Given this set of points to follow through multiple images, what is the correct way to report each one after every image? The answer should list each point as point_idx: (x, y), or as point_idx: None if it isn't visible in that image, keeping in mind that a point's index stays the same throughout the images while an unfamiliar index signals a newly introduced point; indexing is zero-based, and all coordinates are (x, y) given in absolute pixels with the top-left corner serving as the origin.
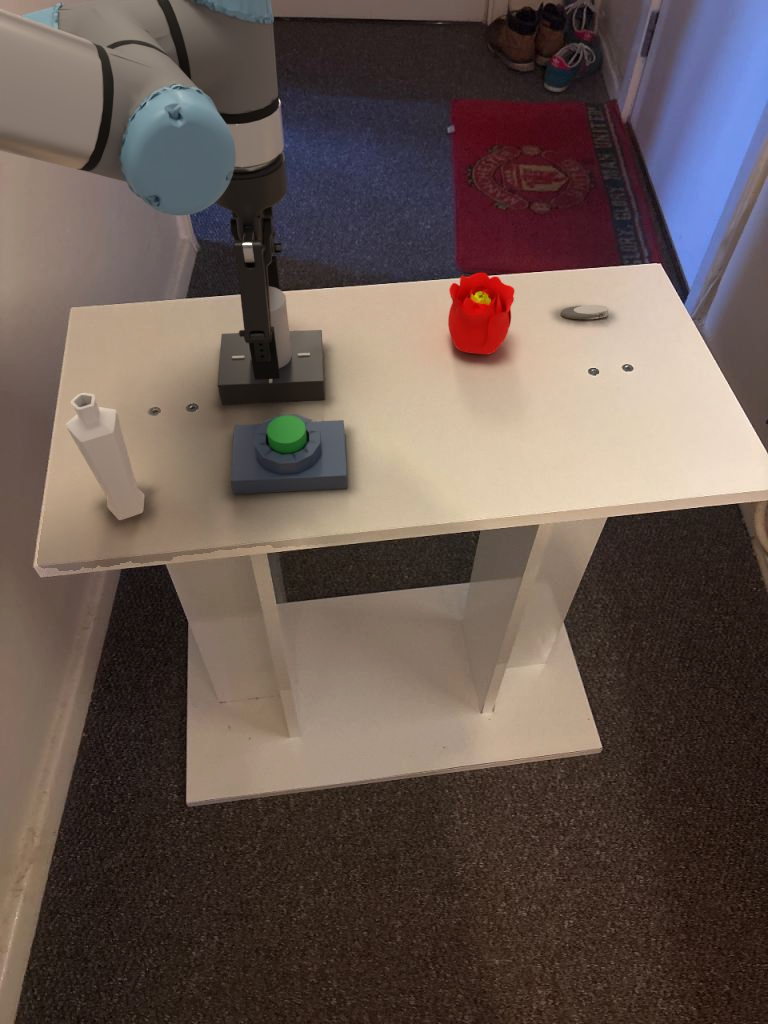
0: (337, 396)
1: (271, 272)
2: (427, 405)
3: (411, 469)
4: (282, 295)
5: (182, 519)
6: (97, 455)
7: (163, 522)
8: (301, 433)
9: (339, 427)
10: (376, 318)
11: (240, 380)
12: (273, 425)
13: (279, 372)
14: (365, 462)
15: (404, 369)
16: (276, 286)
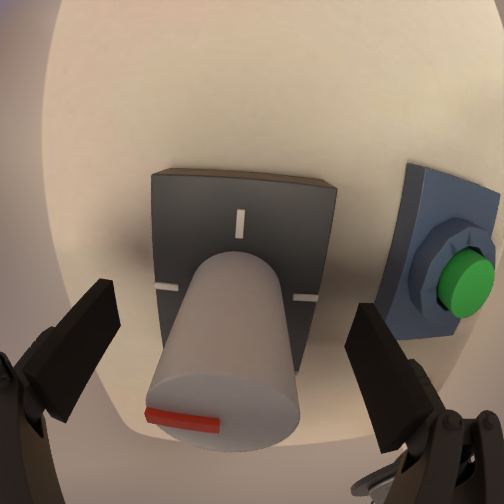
0: (317, 153)
1: (64, 360)
2: (359, 11)
3: (471, 92)
4: (199, 380)
5: (439, 359)
6: None
7: (433, 371)
8: (489, 267)
9: (438, 179)
10: (98, 66)
11: (296, 344)
12: (461, 309)
13: (364, 306)
14: (457, 148)
15: (256, 18)
16: (84, 322)
